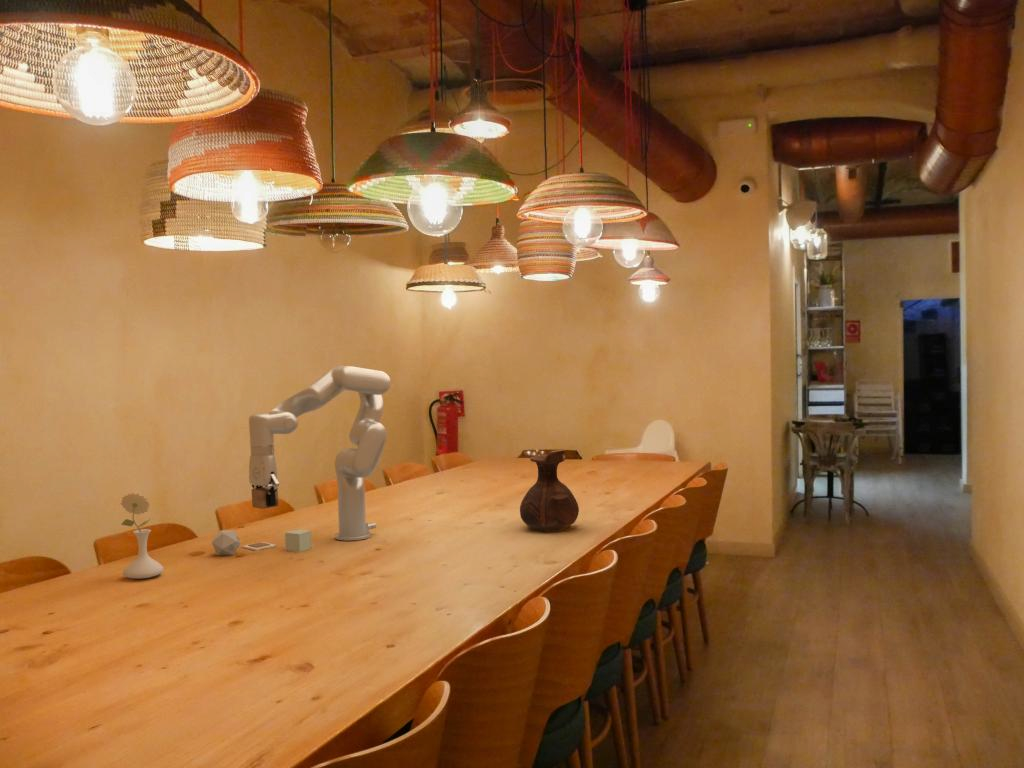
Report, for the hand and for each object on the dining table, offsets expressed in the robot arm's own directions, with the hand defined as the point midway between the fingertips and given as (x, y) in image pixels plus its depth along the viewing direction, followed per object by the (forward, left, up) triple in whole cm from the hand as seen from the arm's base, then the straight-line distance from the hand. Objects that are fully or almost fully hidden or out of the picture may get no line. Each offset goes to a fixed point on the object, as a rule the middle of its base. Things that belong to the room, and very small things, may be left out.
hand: (265, 504), depth 296 cm
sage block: (-8, +6, -16) cm, 19 cm away
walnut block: (0, 0, -1) cm, 1 cm away
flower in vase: (+43, -1, -16) cm, 45 cm away
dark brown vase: (-84, +53, -16) cm, 101 cm away
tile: (-2, -8, -16) cm, 18 cm away
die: (+11, -7, -16) cm, 20 cm away
